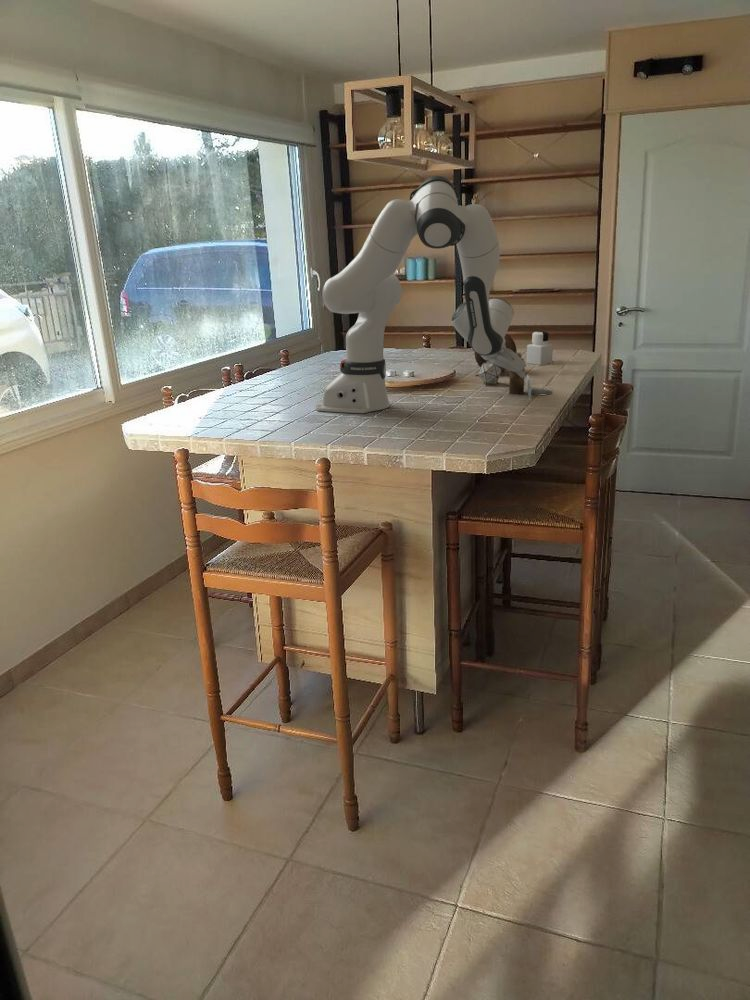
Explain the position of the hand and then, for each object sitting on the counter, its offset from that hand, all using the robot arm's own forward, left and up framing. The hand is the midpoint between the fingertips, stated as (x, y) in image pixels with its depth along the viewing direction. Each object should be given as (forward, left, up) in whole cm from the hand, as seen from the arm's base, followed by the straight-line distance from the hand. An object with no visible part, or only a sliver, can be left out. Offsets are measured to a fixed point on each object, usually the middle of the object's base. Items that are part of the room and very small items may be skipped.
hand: (518, 374), depth 241 cm
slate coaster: (+7, 0, -6) cm, 9 cm away
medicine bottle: (+10, +55, -6) cm, 56 cm away
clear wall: (+3, 0, -6) cm, 7 cm away
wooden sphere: (-7, +35, -6) cm, 36 cm away
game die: (-9, +14, -6) cm, 18 cm away
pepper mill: (-1, 0, -6) cm, 6 cm away
